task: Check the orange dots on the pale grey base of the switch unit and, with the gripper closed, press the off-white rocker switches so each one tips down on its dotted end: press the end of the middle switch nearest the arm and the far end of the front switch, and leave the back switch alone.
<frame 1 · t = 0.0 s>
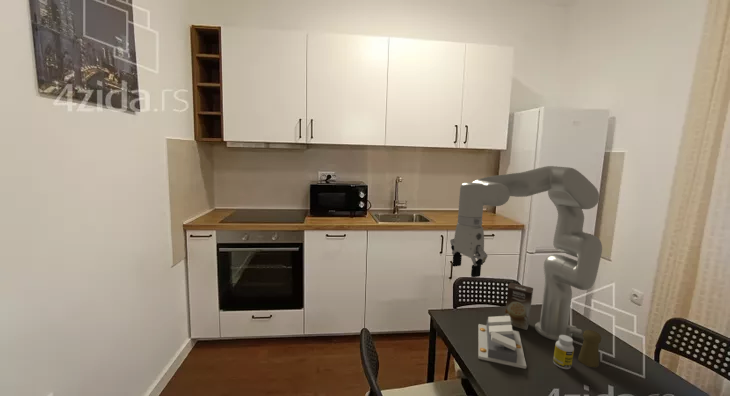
hand: (465, 271, 111), 31 cm above the table, tool pointing down, fingers open, 9 cm apart
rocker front: (502, 341, 115), point 6 cm above the table, hinge at -15.0°
switch unit: (499, 345, 122), on the table
coffee box: (516, 324, 138), on the table
cork: (588, 362, 115), on the table
supplement bottle: (562, 364, 113), on the table
rocker back: (499, 321, 128), point 6 cm above the table, hinge at 15.0°
rocker middle: (500, 330, 122), point 6 cm above the table, hinge at 15.0°
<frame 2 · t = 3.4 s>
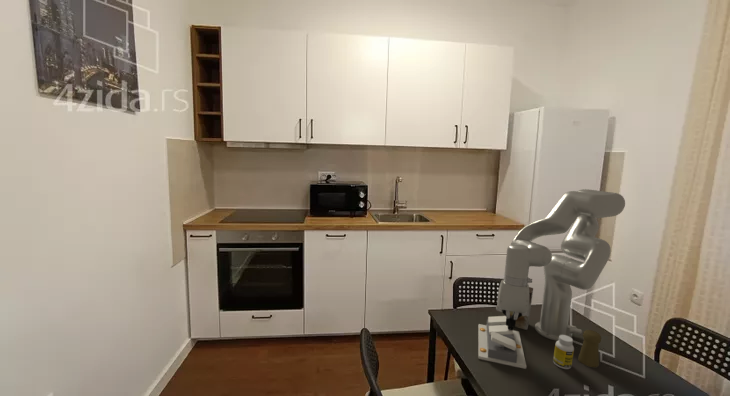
hand: (510, 327, 120), 8 cm above the table, tool pointing down, fingers closed
rocker middle: (500, 330, 122), point 6 cm above the table, hinge at 15.0°, touching gripper
everything else where it was.
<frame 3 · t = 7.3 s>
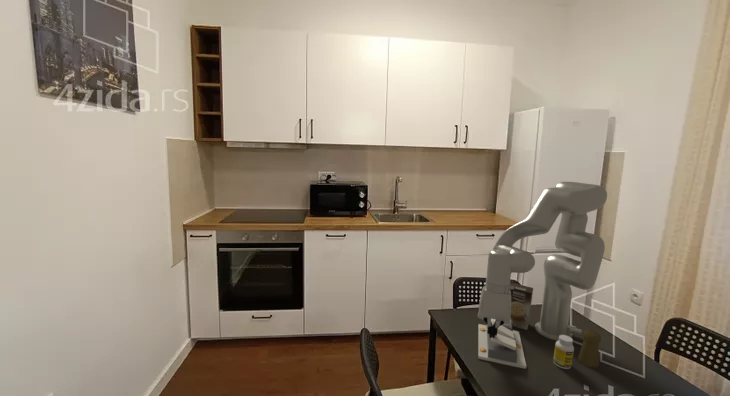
hand: (491, 336, 116), 7 cm above the table, tool pointing down, fingers closed
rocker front: (502, 341, 115), point 6 cm above the table, hinge at -13.2°, touching gripper
rocker middle: (501, 330, 121), point 6 cm above the table, hinge at -22.8°
everything else where it was.
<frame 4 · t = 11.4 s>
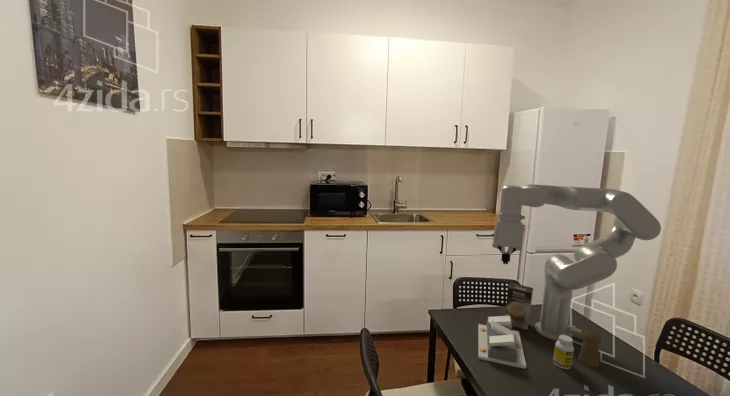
hand: (505, 263, 131), 27 cm above the table, tool pointing down, fingers closed
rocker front: (502, 341, 115), point 6 cm above the table, hinge at 17.8°
rocker middle: (501, 330, 121), point 6 cm above the table, hinge at -21.5°
everything else where it was.
at the end: rocker back at +15° (first picture: +15°); rocker middle at -22° (first picture: +15°); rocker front at +18° (first picture: -15°) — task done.
